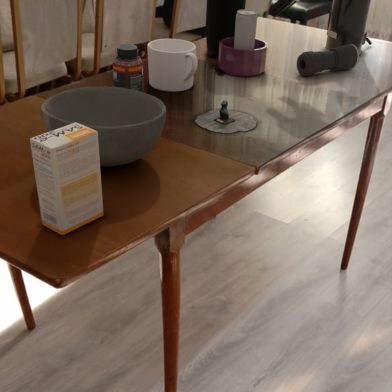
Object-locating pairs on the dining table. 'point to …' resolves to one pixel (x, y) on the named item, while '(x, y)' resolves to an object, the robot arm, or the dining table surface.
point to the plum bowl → (242, 58)
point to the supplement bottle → (128, 68)
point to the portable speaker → (220, 22)
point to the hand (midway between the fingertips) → (278, 9)
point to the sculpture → (226, 120)
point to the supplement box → (68, 177)
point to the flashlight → (328, 60)
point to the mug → (171, 64)
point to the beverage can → (245, 29)
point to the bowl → (110, 119)
